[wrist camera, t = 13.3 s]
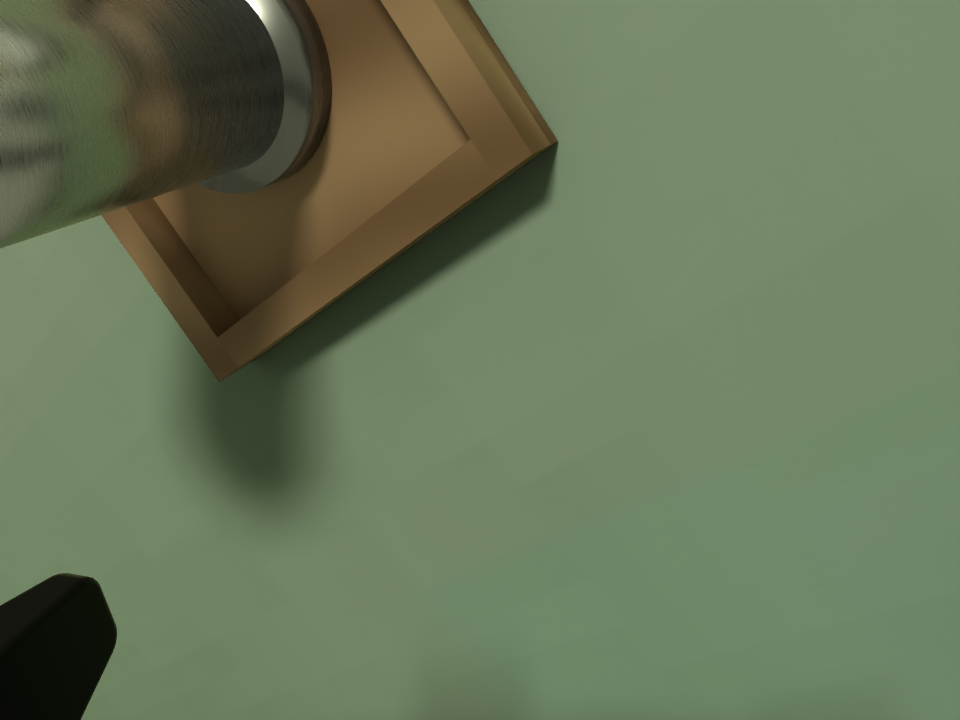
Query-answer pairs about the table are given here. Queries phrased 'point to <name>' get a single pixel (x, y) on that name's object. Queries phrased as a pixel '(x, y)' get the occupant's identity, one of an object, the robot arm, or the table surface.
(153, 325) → the table surface
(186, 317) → the walnut keeper tray
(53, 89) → the glass jar
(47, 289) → the table surface
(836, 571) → the table surface
